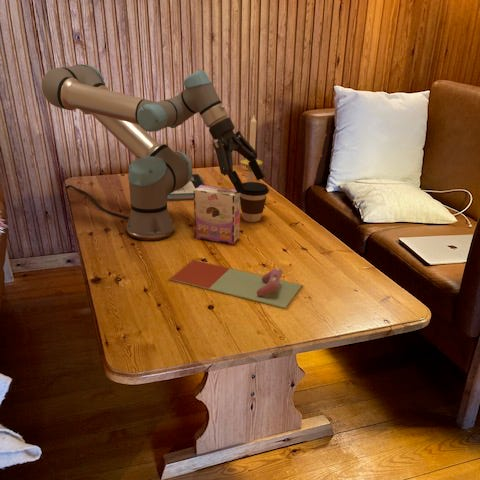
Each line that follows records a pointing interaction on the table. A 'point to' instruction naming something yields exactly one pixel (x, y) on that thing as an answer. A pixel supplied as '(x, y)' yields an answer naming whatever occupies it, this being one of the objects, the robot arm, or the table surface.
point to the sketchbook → (187, 189)
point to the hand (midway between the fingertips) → (251, 185)
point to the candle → (252, 142)
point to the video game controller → (270, 282)
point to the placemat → (235, 283)
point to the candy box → (217, 214)
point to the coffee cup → (253, 200)
